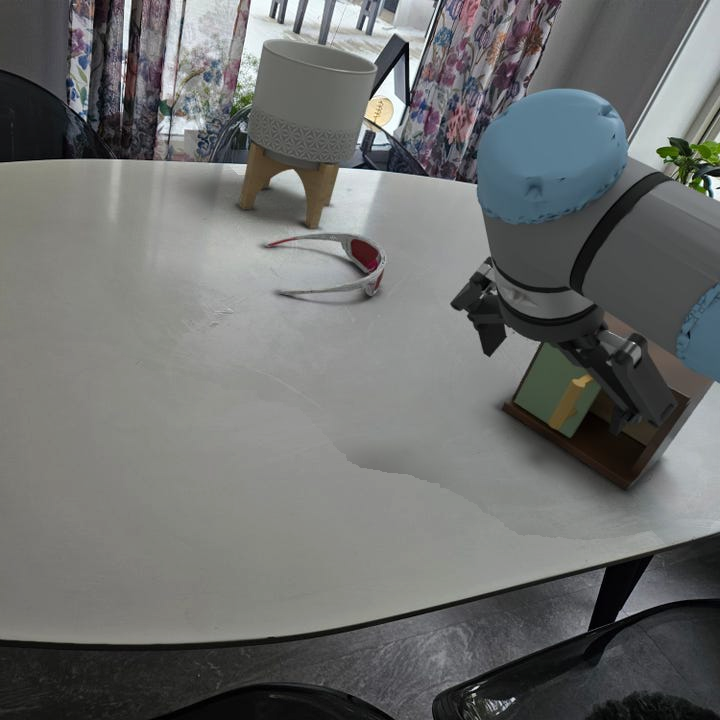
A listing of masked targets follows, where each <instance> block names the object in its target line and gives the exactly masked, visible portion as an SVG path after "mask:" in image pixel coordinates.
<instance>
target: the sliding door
mask: <svg viewBox="0 0 720 720" xmlns="http://www.w3.org/2000/svg"><path fill="white" fill-rule="evenodd" d="M576 350H577V352H578V353H579V352H580V351H581V349H576ZM601 388H602V387H601V386H600V385H599V384H598V383H597V382H596V381H595V379H594V378H593V377H592V376H591V375H590V374H589V373H588V372H587V371H586V370H585V369H584V368H582V367H577V366H574V365H572V363H571V362H570V361H569V360H568V359H567V358H566V357H565V356H564V355H563V354H562V353H561V352H560V350H559V349H557V348H553V347H552V346H551V345H550V344H549V343H544V345H543V347H542V349H541V351H540V353H539V355H538V356H537V358H536V360H535V362H534V364H533V366H532V368H531V370H530V372H529V374H528V376H527V378H526V380H525V382H524V384H523V385H522V387H521V389H520V391H519V393H518V395H517V397H516V399H515V401H514V402H515V403H516V404H518V405H519V406H521V407H522V408H524V409H526V410H527V411H529V412H530V413H532V414H533V415H535V416H536V417H538V418H539V419H541V420H543V421H544V422H546V423H547V424H549V426H550V427H552V428H553V429H556V430H558V431H560V432H561V433H563V434H564V435H566V436H567V437H569V438H571V437H572V436H573V435H574V433H575V432H576V430H577V428H578V427H579V425H580V423H581V422H582V420H583V418H584V417H585V415H586V413H587V412H588V410H589V408H590V407H591V405H592V403H593V402H594V400H595V398H596V397H597V395H598V393H599V392H600V390H601Z"/></svg>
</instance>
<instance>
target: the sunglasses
mask: <svg viewBox="0 0 720 720" xmlns="http://www.w3.org/2000/svg"><path fill="white" fill-rule="evenodd" d="M303 240H311V241H312V240H314V241H315V240H317V241H320V240H321V241H330V242H337V243H340V245H341V246H342V247H341V248H342V250H343V251H344V252H345V255H346V256H347V257H348V258H349V260H351V261H352V262H353V263H354V264H355V265H356V266H357V267H359V269H360V270H362V271H363V273H365V274H367V273H368V274H369V273H370V274H369V275H367V276H366V277H362V278H360V279H358V280H355V281H352V282H347V283H346V282H345V283H342V284H338V285H332V286H325V287H319V288H306V289H282V290H281V291H280V293H281V294H282V295H285V296H295V295H296V296H297V295H309V294H310V295H311V294H327V293H328V294H330V293H331V294H332V293H345V292H346V293H347V292H353V291H358V290H363V289H365V293H366V295H368V296H370V297H372V296H374V295H375V294H376V293H377V291H378V288H379V286H380V283H381V281H382V279H383V276H384V271H385V266H386V265H387V254H386V251H385V249H384V248H383V247H382V245H380V244H379V242H377V241H375V240H373V239H372V238H369V237H367V236H364V235H361V234H357V233H352V232H339V231H335V232H333V231H332V232H331V231H330V232H316V233H309V234H301V235H293V236H287V237H283V238H282V237H281V238H279V239H276V240H273V241H270V242H267V243H265V244H264V246H265V247H267V248H272V247H275V246H277V245H281V244H284V243H287V242H288V243H289V242H292V241H303Z"/></svg>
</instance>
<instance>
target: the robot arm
mask: <svg viewBox="0 0 720 720" xmlns="http://www.w3.org/2000/svg"><path fill="white" fill-rule="evenodd" d="M629 148H630V145H629V140H628V139H627V133H626V126H625V123H624V122H623V119H622V118H621V116H620V115H619V113H618V111H617V110H616V108H614V107H613V106H612V105H611V103H610V101H608V100H606V99H605V98H603V97H602V96H600V95H598V94H596V93H593V92H591V91H587V90H583V89H577V88H552V89H546V90H545V89H544V90H541V91H538V92H534V93H531V94H529V95H527V96H524V97H521V98H520V99H517V100H516V101H515V102H513V103H511V104H510V105H508V106H507V107H505V109H504V110H502V111H501V112H500V113H499V114H497V115H496V116H495V117H494V118H493V120H492V121H491V122H490V123H489V124H488V126H487V127H486V129H485V130H484V132H483V135H482V136H481V139H480V140H479V144H478V147H477V152H476V167H477V168H476V170H477V185H476V198H477V202H478V204H479V206H480V209H481V212H482V213H481V214H482V219H483V222H484V227H485V232H486V238H487V243H488V248H489V252H490V253H489V254H490V256H487V257H486V259H485V260H484V261H483V262H482V263H481V264H480V266H479V267H478V268H477V269H476V271H474V273H473V274H472V275H471V276H470V277H469V279H468V282H467V283H465V285H464V286H463V287H462V289H461V290H460V291H459V292H458V293H457V294H456V295H455V297H454V298H453V299H452V300H451V301H450V303H449V305H450V306H451V308H452V309H453V310H455V311H457V312H461V311H463V310H464V311H465V312H467V314H466V318H467V319H468V321H469V322H472V327H473V328H474V329H475V331H477V334H478V338H479V341H480V345H481V349H482V353H483V354H484V355H485V356H487V357H488V358H491V356H493V354H494V353H495V352H496V351H497V350H498V349H499V347H500V346H501V345H502V343H503V342H504V341H505V340H506V339H507V331H506V327H507V328H508V329H512V330H513V331H514V332H516V333H517V334H518V335H520V336H522V337H523V338H525V339H528V340H531V341H534V342H538V343H541V342H544V343H549V344H550V345H551V346H552V347H553V348H557V349H559V350H560V352H561V353H562V354H563V355H564V356H565V357H566V358H567V359H568V360H569V361H570V362H571V363H572V365H574V366H577V367H582V368H584V369H585V370H586V371H587V372H588V373H589V374H590V375H591V376H592V377H593V378H594V379H595V381H596V382H597V383H598V384H599V385H600V386H601V387H602V388H603V389H604V390H605V391H606V393H607V394H608V395H609V396H610V397H611V398H612V399H613V400H614V401H615V402H616V405H615V406H614V407H613V410H612V416H611V422H610V427H609V432H611V433H612V434H614V435H615V436H617V435H618V434H619V433H620V431H621V430H622V429H623V428H624V427H625V425H626V424H627V425H631V424H633V425H637V424H638V423H639V422H640V421H641V420H642V418H644V420H645V421H646V422H647V423H648V424H649V425H650V426H652V427H654V428H659V427H660V426H661V425H662V423H663V422H664V421H665V420H666V419H667V418H668V416H669V415H670V414H671V413H672V411H673V410H674V409H675V408H676V406H677V405H678V403H677V401H676V399H675V397H674V396H673V394H672V392H671V391H670V389H669V387H668V386H667V384H666V382H665V381H664V379H663V377H662V375H661V374H660V372H659V370H658V369H657V367H656V365H655V364H654V362H653V360H652V358H651V357H650V355H649V353H648V342H647V340H646V338H648V339H649V340H651V341H652V342H654V343H655V344H657V345H658V346H660V347H661V348H663V349H664V350H666V351H667V352H669V353H670V354H672V355H673V356H675V357H676V358H678V359H679V361H681V362H682V363H683V365H684V366H685V367H687V368H688V369H691V370H692V371H694V372H695V373H698V374H702V375H705V376H707V377H709V378H710V379H712V380H714V381H715V383H718V384H719V385H720V200H718V199H717V198H714V197H711V196H709V195H707V194H705V193H703V192H700V191H698V190H696V189H694V188H692V187H689V186H688V185H686V184H683V183H681V182H679V181H678V180H676V179H674V178H673V177H671V176H668V175H667V174H665V173H664V172H662V171H660V170H658V169H657V168H654V167H652V166H650V165H648V164H646V163H644V162H643V161H640V160H638V159H635V158H633V157H632V156H630V155H629V152H628V151H629ZM493 292H496V294H495V293H493ZM606 311H607V312H608V313H610V314H611V315H613V316H614V317H616V318H617V319H619V320H620V321H622V322H624V323H625V324H627V325H628V326H630V327H631V328H633V329H634V330H636V331H637V332H639V333H640V334H642V335H643V336H645V337H646V338H644V337H643V336H642V335H640V334H638V333H632V334H631V335H630V336H629V338H628V337H626V338H625V339H623V338H621V337H619V336H617V335H615V334H613V333H611V332H609V327H608V324H607V323H606V322H605V320H604V315H605V312H606ZM576 349H581V351H580V352H579V353H578V352H577V350H576Z"/></svg>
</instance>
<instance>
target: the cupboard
mask: <svg viewBox="0 0 720 720" xmlns="http://www.w3.org/2000/svg"><path fill="white" fill-rule="evenodd" d="M604 320H605V322H606V323H607V324H608V327H609V332H611V333H613V334H615V335H617V336H619V337H621V338H623V339H625V338H626V337H628V338H629V336H630V335H631V334H632V333H638V334H640V333H639V332H637V331H636V330H634V329H633V328H631V327H630V326H628V325H627V324H625V323H624V322H622V321H620V320H619V319H617V318H616V317H614V316H613V315H611V314H610V313H608V312H607V311H606V312H605V315H604ZM640 335H642V334H640ZM642 336H643V335H642ZM643 337H644V338H646V337H645V336H643ZM646 340H647V342H648V353H649V355H650V357H651V358H652V360H653V362H654V364H655V365H656V367H657V369H658V370H659V372H660V374H661V375H662V377H663V379H664V381H665V382H666V384H667V386H668V387H669V389H670V391H671V392H672V394H673V396H674V397H675V399H676V401H677V403H678V405H677V406H676V408H675V409H674V410H673V411H672V413H671V414H670V415H669V416H668V418H667V419H666V420H665V421H664V422H663V423H662V425H661V426H660V427H659V428H654V427H652V426H650V425H649V424H648V423H647V422H646V421H645V420H644V418H642V420H641V421H640V422H639V423H638V424H637V425H633V424H631V425H627V424H626V425H625V427H624V428H623V429H622V430H621V431H620V433H619V434H618V435H617V436H615V435H614V434H612V433H611V432H609V427H610V422H611V416H612V410H613V407H614V406H615V405H616V402H615V401H614V400H613V399H612V398H611V397H610V396H609V395H608V394H607V393H606V391H605V390H604V389H603V388H601V390H600V392H599V393H598V395H597V397H596V398H595V400H594V402H593V403H592V405H591V407H590V408H589V410H588V412H587V413H586V415H585V417H584V418H583V420H582V422H581V423H580V425H579V427H578V428H577V430H576V432H575V433H574V435H573V436H572V437H571V438H569V437H567V436H566V435H564V434H563V433H561V432H560V431H558V430H556V429H553V428H552V427H550V426H549V424H547V423H546V422H544V421H543V420H541V419H539V418H538V417H536V416H535V415H533V414H532V413H530V412H529V411H527V410H526V409H524V408H522V407H521V406H519V405H518V404H516V403H515V402H514V401H515V399H516V397H517V395H518V393H519V391H520V389H521V387H522V385H523V384H524V382H525V380H526V378H527V376H528V374H529V372H530V370H531V368H532V366H533V364H534V362H535V360H536V358H537V356H538V355H539V353H540V351H541V349H542V347H543V345H544V342H539V345H538V347H537V349H536V351H535V353H534V355H533V357H532V359H531V360H530V362H529V365H528V366H527V368H526V370H525V372H524V374H523V376H522V378H521V379H520V382H519V384H518V385H517V388H516V390H515V391H514V394H513V396H512V397H511V398H510V399H507V400H506V401H505V402H504V403H503V405H502V407H501V409H502V410H504V411H505V412H506V413H508V414H510V415H511V416H513V417H514V418H516V419H517V420H519V421H520V422H522V423H523V424H525V425H526V426H528V427H529V428H531V429H532V430H534V431H536V432H537V433H538V434H540V435H541V436H543V437H544V438H546V439H548V440H549V441H551V442H552V443H554V444H555V445H556V446H558V447H560V448H561V449H563V450H565V451H566V452H567V453H568V454H571V456H573V457H575V458H576V459H578V461H579V460H580V461H581V462H582V463H584V464H585V465H587V466H588V467H590V468H592V469H593V470H595V471H596V472H597V473H599V474H600V475H602V476H604V477H605V478H607V479H608V480H609V481H611V482H613V483H614V484H615V485H617V486H619V487H621V489H623V490H625V491H628V490H629V489H630V488H631V487H632V486H633V485H634V484H635V483H636V482H637V481H639V479H640V478H641V477H642V476H643V475H645V473H647V472H648V471H649V470H650V469H651V468H652V467H653V466H654V465H655V464H656V463H657V462H658V461H659V460H661V458H662V456H663V455H664V454H665V452H666V451H667V450H668V448H669V447H670V445H671V444H672V442H673V441H674V440H675V438H676V437H677V435H678V434H679V433H680V431H681V430H682V429H683V427H684V426H685V424H686V423H687V421H688V420H689V419H690V417H691V416H692V415H693V413H694V411H695V410H696V409H697V408H698V406H699V404H700V403H701V402H702V400H703V399H704V397H705V396H706V395H707V393H708V392H709V390H710V389H711V387H712V386H713V385H714V383H716V381H714V380H712V379H710V378H709V377H707V376H705V375H702V374H698V373H695V372H694V371H692V370H691V369H688V368H687V367H685V366H684V365H683V363H682V362H681V361H679V359H678V358H676V357H675V356H673V355H672V354H670V353H669V352H667V351H666V350H664V349H663V348H661V347H660V346H658V345H657V344H655V343H654V342H652V341H651V340H649V339H648V338H646Z"/></svg>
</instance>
